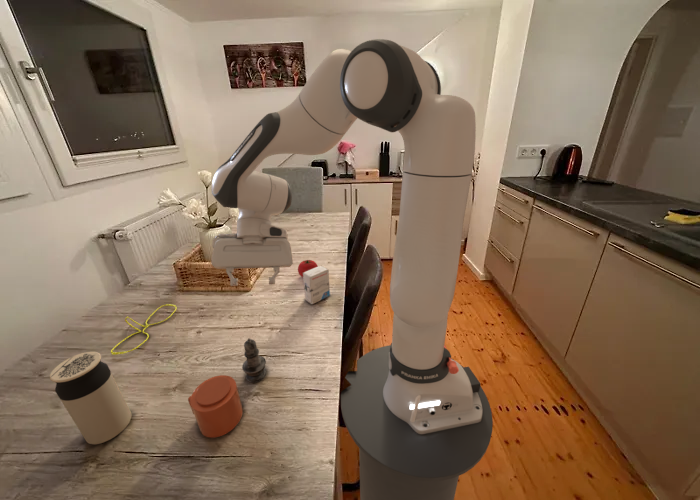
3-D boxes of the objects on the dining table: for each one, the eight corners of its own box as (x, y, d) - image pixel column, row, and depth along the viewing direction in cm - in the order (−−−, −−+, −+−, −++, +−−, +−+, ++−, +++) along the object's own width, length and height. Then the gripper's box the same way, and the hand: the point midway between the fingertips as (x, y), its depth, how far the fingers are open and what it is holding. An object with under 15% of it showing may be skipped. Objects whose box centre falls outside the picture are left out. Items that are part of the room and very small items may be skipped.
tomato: (317, 281, 118) (316, 264, 115) (296, 281, 118) (294, 264, 115) (320, 271, 126) (318, 255, 123) (300, 271, 126) (298, 255, 123)
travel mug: (140, 410, 65) (112, 350, 58) (112, 445, 58) (76, 382, 51) (107, 409, 65) (75, 350, 58) (75, 445, 58) (34, 381, 51)
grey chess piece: (263, 362, 78) (256, 327, 73) (271, 375, 73) (264, 339, 68) (241, 372, 74) (233, 336, 70) (248, 387, 70) (240, 350, 65)
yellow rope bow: (131, 357, 80) (125, 344, 79) (98, 357, 81) (92, 344, 79) (182, 306, 103) (178, 295, 101) (156, 306, 104) (152, 295, 102)
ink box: (322, 291, 111) (320, 264, 106) (330, 296, 107) (329, 268, 103) (304, 299, 106) (301, 272, 101) (312, 305, 102) (309, 277, 97)
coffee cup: (248, 399, 67) (241, 372, 63) (233, 437, 59) (225, 409, 55) (205, 399, 67) (196, 373, 64) (184, 437, 59) (172, 409, 55)
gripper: (209, 230, 70) (206, 285, 68) (292, 230, 74) (292, 282, 71) (216, 236, 77) (214, 287, 74) (292, 236, 80) (293, 284, 77)
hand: (253, 285), depth 72 cm, fingers open, 8 cm apart
